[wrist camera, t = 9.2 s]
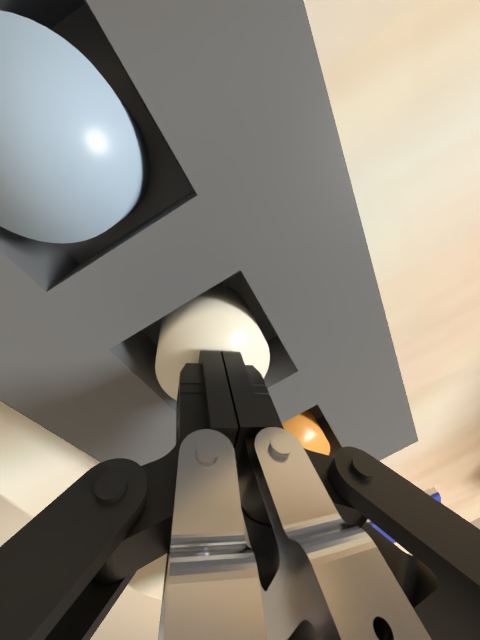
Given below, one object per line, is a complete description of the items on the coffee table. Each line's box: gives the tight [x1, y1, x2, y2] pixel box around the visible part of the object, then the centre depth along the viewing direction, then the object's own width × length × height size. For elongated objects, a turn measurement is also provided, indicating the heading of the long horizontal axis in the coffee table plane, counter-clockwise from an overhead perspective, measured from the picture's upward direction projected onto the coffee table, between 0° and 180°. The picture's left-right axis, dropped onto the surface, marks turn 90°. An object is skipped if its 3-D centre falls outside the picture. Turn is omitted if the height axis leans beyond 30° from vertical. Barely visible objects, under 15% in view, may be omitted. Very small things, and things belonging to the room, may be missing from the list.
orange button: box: [282, 409, 330, 455], centre depth 15 cm, size 4×4×3 cm
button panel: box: [0, 0, 418, 466], centre depth 12 cm, size 26×14×4 cm, turn 30°
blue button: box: [0, 11, 150, 243], centre depth 7 cm, size 4×4×3 cm
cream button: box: [155, 284, 270, 401], centre depth 11 cm, size 4×4×3 cm
